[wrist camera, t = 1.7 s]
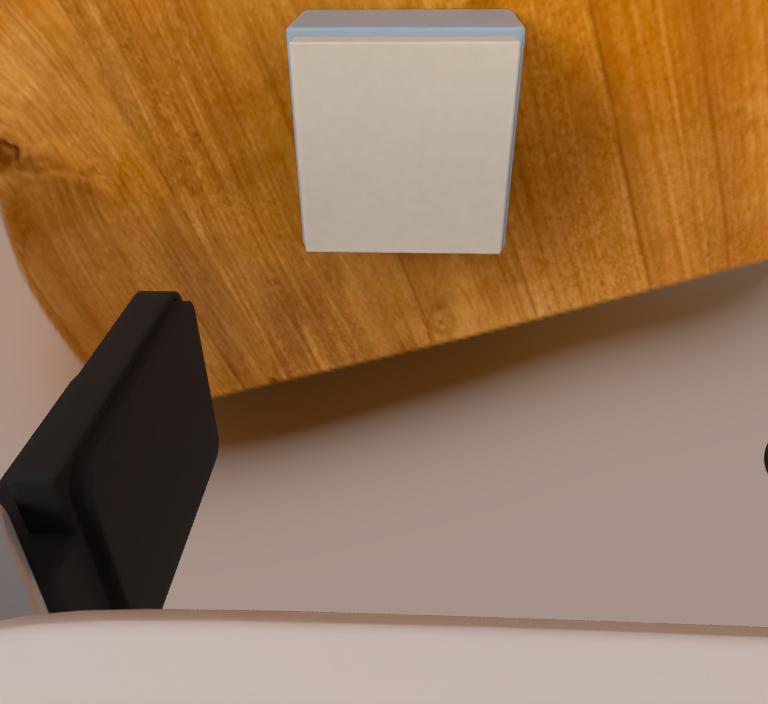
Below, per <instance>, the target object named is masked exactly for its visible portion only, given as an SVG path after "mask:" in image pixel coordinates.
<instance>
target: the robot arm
mask: <svg viewBox="0 0 768 704" xmlns="http://www.w3.org/2000/svg"><path fill="white" fill-rule="evenodd" d="M218 441H219V438H218V431H217V426H216V421H215V415H214V410H213V405H212V399H211V394H210V389H209V383H208V378H207V373H206V367H205V362H204V357H203V351H202V346H201V340H200V335H199V330H198V324H197V319H196V314H195V309H194V306H193V304H192V303H191V302H190V301H182V298H181V296H180V294H179V293H178V292H170V291H138V292H137V293H136V294H135V296H134V297H133V298H132V300H131V301H130V303H129V304H128V305H127V307H126V308H125V310H124V311H123V312H122V314H121V315H120V317H119V318H118V319H117V321H116V322H115V324H114V325H113V326H112V328H111V329H110V331H109V332H108V333H107V335H106V336H105V338H104V339H103V340H102V342H101V343H100V345H99V346H98V347H97V349H96V350H95V352H94V353H93V354H92V356H91V357H90V359H89V360H88V361H87V363H86V364H85V366H84V367H83V368H82V370H81V371H80V373H79V374H78V376H76V377H75V378H74V379H73V380H72V381H71V382H70V384H69V385H68V387H67V388H66V389H65V391H64V392H63V393H62V395H61V396H60V398H59V399H58V400H57V402H56V403H55V405H54V406H53V407H52V409H51V410H50V412H49V413H48V414H47V416H46V417H45V419H44V420H43V422H42V423H41V424H40V426H39V427H38V428H37V430H36V431H35V432H34V434H33V435H32V437H31V438H30V439H29V441H28V442H27V444H26V445H25V446H24V448H23V449H22V451H21V452H20V453H19V455H18V456H17V458H16V459H15V460H14V462H13V463H12V464H11V466H10V467H9V469H8V470H7V472H6V473H5V474H4V476H3V477H2V478H1V480H0V704H768V627H749V626H721V625H695V624H668V623H667V624H666V623H639V622H613V621H612V622H611V621H584V620H556V619H527V618H498V617H467V616H466V617H465V616H434V615H433V616H432V615H398V614H368V613H334V612H301V611H257V610H252V611H251V610H188V609H187V610H186V609H185V610H184V609H183V610H182V609H162V608H163V605H164V602H165V600H166V596H167V594H168V591H169V588H170V586H171V583H172V580H173V577H174V575H175V572H176V569H177V566H178V564H179V561H180V558H181V555H182V552H183V550H184V547H185V544H186V541H187V539H188V536H189V533H190V530H191V527H192V525H193V522H194V519H195V517H196V513H197V511H198V508H199V505H200V503H201V500H202V497H203V494H204V492H205V489H206V486H207V483H208V481H209V478H210V475H211V472H212V469H213V467H214V464H215V461H216V458H217V454H218V445H219V443H218ZM764 462H765V468H766V470H767V473H768V444H767V447H766V449H765V454H764Z"/></svg>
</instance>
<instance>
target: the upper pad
mask: <svg viewBox="0 0 768 704" xmlns="http://www.w3.org/2000/svg"><path fill="white" fill-rule="evenodd" d="M525 34H526V29H525V27H524V25H523V24H522V23H521V22H520V20H519V19H518V18H517V17H516V15H515V14H514V13H513V11H512V10H510V9H417V10H305V11H303V12H302V13H301V14H300V15H299V16H298V17H297V18H296V19H295V20H294V21H293V22H292V23H291V24H290V25H289V26H288V27H287V29H286V37H287V50H288V62H289V74H290V86H291V98H292V110H293V123H294V135H295V147H296V159H297V171H298V184H299V196H300V208H301V220H302V232H303V243H304V245H305V248H306V251H307V252H366V253H451V254H500V253H501V248H503V247H504V245H505V237H506V226H507V216H508V206H509V196H510V186H511V176H512V166H513V156H514V145H515V135H516V125H517V115H518V105H519V95H520V85H521V74H522V64H523V54H524V44H525Z"/></svg>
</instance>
